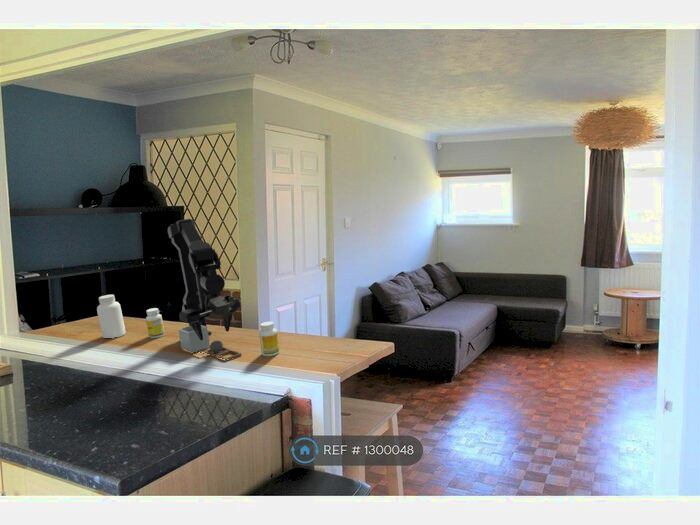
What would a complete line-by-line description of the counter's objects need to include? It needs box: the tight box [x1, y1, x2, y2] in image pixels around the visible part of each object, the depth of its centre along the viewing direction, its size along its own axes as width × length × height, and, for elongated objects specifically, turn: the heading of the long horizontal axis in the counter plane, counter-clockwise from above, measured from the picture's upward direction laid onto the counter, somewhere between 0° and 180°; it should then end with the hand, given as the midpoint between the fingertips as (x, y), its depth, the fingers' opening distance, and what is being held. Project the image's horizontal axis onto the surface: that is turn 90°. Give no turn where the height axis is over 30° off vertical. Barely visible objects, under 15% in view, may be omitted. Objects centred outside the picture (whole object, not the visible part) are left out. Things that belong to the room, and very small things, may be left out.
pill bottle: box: [96, 294, 126, 339], centre depth 203 cm, size 8×8×15 cm
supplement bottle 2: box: [258, 321, 280, 357], centre depth 169 cm, size 5×5×10 cm
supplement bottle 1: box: [145, 307, 166, 339], centre depth 198 cm, size 5×5×10 cm
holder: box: [204, 346, 242, 360], centre depth 173 cm, size 12×6×1 cm, turn 44°
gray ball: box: [209, 339, 224, 354], centre depth 175 cm, size 4×4×4 cm
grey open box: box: [177, 325, 211, 353], centre depth 181 cm, size 7×7×7 cm
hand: (214, 335), depth 175 cm, fingers open, 9 cm apart
